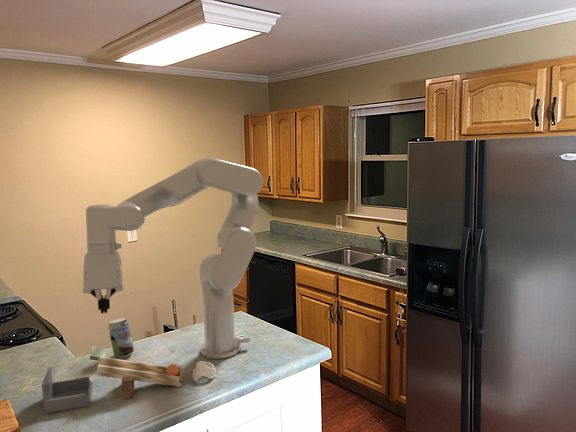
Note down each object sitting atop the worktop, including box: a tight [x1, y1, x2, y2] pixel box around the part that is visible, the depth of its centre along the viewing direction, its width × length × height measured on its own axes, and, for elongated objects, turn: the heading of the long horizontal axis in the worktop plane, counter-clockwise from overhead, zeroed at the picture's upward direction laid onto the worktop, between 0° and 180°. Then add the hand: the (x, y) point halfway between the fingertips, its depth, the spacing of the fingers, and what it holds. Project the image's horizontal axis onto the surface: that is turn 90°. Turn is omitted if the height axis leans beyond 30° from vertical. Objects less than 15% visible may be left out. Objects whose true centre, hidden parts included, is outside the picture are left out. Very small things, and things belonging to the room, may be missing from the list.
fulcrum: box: [121, 377, 135, 401], centre depth 125 cm, size 3×10×5 cm, turn 18°
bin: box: [41, 366, 94, 416], centre depth 120 cm, size 10×10×8 cm
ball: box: [166, 363, 180, 376], centre depth 128 cm, size 4×4×4 cm
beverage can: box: [107, 317, 135, 359], centre depth 146 cm, size 6×7×12 cm
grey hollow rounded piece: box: [192, 360, 217, 382], centre depth 132 cm, size 8×7×5 cm
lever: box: [89, 345, 184, 387], centre depth 129 cm, size 24×17×4 cm
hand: (104, 311), depth 132 cm, fingers closed
